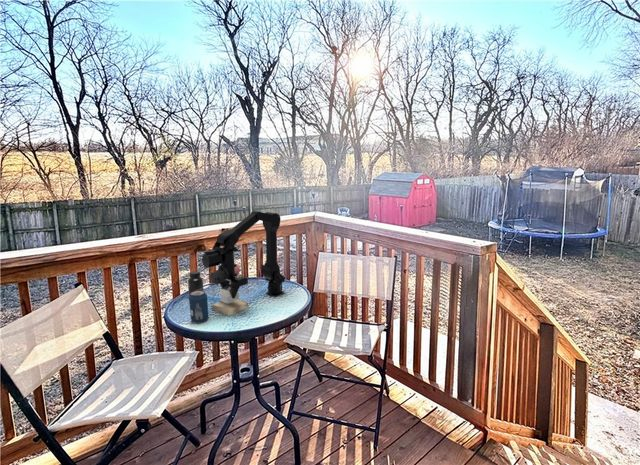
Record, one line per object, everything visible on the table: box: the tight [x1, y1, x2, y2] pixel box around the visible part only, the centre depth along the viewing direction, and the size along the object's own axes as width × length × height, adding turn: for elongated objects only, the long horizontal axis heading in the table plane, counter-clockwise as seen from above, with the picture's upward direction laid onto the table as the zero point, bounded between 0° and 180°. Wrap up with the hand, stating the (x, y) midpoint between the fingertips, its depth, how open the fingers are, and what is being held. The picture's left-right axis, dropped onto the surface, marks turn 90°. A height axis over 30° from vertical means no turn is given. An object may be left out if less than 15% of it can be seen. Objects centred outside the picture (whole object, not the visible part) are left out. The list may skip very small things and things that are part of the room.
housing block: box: [219, 286, 240, 304], centre depth 164 cm, size 6×5×6 cm
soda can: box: [188, 290, 210, 324], centre depth 153 cm, size 7×7×12 cm
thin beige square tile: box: [211, 298, 250, 317], centre depth 165 cm, size 11×11×2 cm
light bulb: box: [229, 264, 241, 285], centre depth 193 cm, size 7×7×12 cm
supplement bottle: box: [187, 270, 205, 298], centre depth 179 cm, size 7×7×12 cm
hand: (229, 297), depth 164 cm, fingers closed on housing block, 4 cm apart
